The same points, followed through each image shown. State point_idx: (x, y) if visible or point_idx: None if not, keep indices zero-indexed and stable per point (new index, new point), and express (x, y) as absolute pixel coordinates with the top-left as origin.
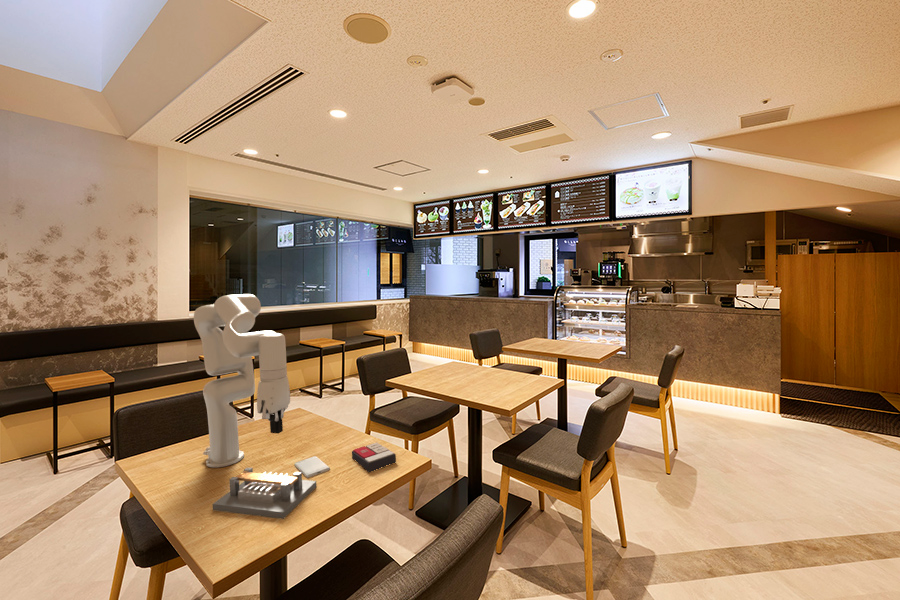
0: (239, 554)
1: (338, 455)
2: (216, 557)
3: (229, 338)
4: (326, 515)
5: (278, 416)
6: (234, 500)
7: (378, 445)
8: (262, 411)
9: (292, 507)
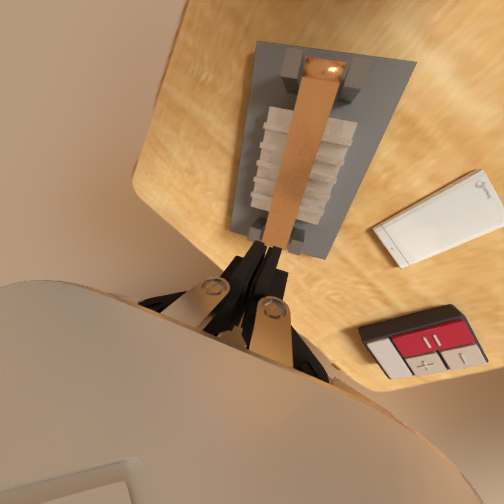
0: (166, 197)
1: (489, 275)
2: (155, 167)
3: None
4: None
5: (247, 337)
6: (268, 103)
7: (457, 365)
8: (101, 302)
9: None
